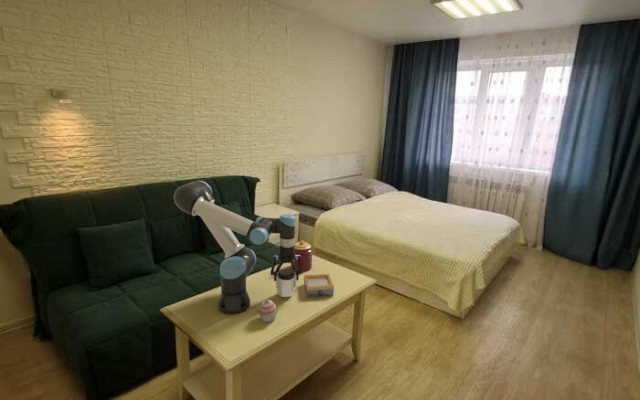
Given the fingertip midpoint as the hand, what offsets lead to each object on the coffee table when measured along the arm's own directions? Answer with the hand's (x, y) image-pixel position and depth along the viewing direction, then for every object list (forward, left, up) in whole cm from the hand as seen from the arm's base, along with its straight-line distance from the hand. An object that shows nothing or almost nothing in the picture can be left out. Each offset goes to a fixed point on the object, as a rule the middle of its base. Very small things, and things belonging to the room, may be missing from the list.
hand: (286, 286), depth 171 cm
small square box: (+17, +4, -5) cm, 19 cm away
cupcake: (-10, -20, -6) cm, 23 cm away
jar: (0, 0, -4) cm, 4 cm away
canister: (+11, +33, -6) cm, 35 cm away
